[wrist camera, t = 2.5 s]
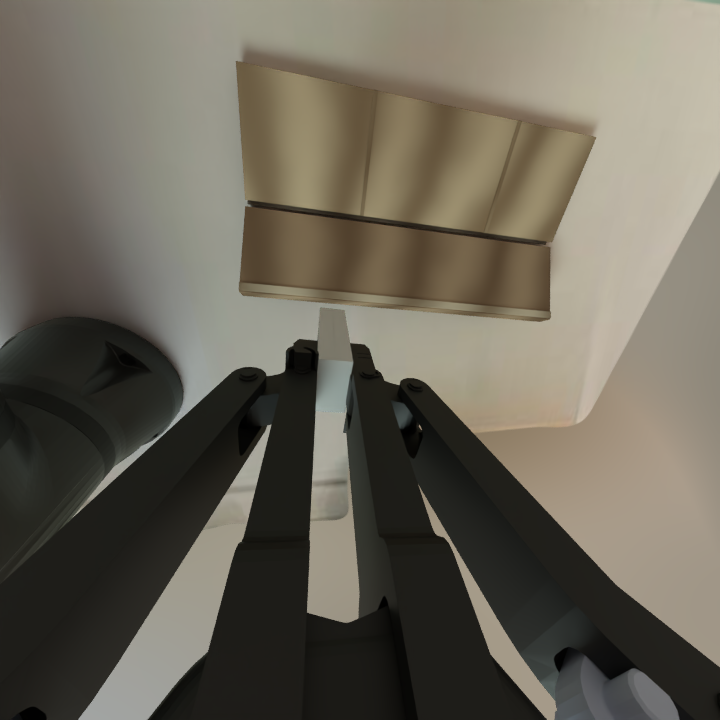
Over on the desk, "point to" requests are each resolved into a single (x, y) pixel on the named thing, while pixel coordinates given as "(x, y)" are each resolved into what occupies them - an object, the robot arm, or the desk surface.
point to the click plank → (391, 267)
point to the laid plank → (402, 158)
